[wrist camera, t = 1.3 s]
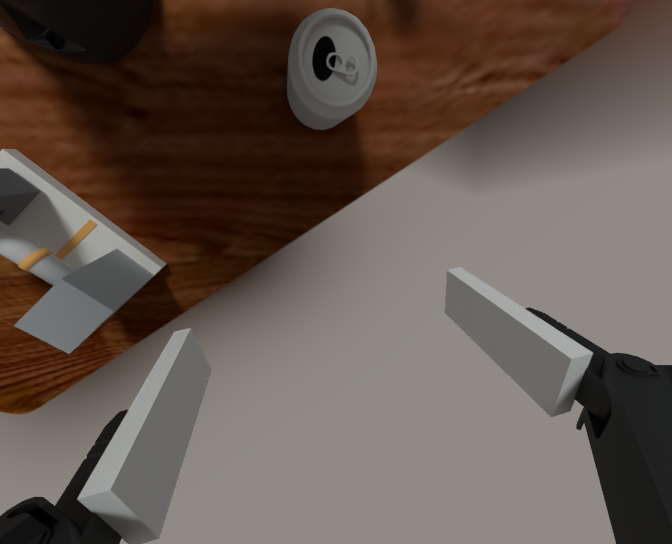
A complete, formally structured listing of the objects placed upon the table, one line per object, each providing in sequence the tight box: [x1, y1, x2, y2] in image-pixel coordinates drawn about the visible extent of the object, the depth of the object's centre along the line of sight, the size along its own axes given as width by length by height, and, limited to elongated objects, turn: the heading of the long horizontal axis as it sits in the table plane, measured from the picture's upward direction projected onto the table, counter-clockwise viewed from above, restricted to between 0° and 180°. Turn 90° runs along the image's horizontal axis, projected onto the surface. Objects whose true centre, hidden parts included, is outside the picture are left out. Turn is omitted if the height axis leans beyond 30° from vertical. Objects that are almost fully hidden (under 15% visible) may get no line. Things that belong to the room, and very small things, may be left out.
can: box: [287, 8, 377, 130], centre depth 26 cm, size 8×8×12 cm
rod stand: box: [0, 149, 166, 354], centre depth 27 cm, size 18×10×10 cm, turn 39°
